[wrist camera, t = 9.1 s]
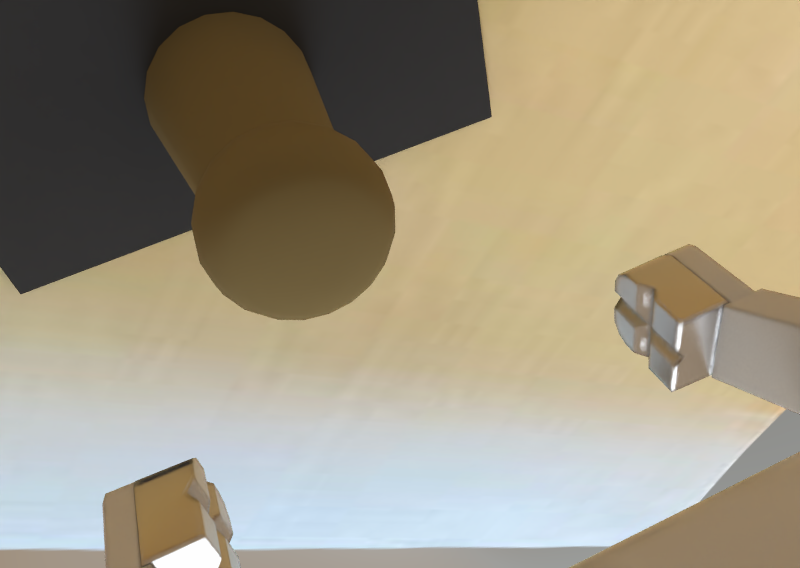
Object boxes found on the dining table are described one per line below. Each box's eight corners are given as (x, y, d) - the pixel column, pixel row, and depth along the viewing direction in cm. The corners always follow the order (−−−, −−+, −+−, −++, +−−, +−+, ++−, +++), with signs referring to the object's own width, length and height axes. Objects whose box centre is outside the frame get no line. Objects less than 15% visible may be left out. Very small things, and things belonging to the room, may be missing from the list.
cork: (124, 151, 25) (151, 341, 16) (171, -17, 22) (232, 104, 14) (282, 191, 28) (371, 368, 19) (338, 47, 25) (469, 179, 17)
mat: (-193, -1, 19) (-196, 1, 19) (450, -190, 23) (454, -190, 22) (21, 290, 26) (20, 294, 26) (488, 114, 30) (492, 116, 29)
